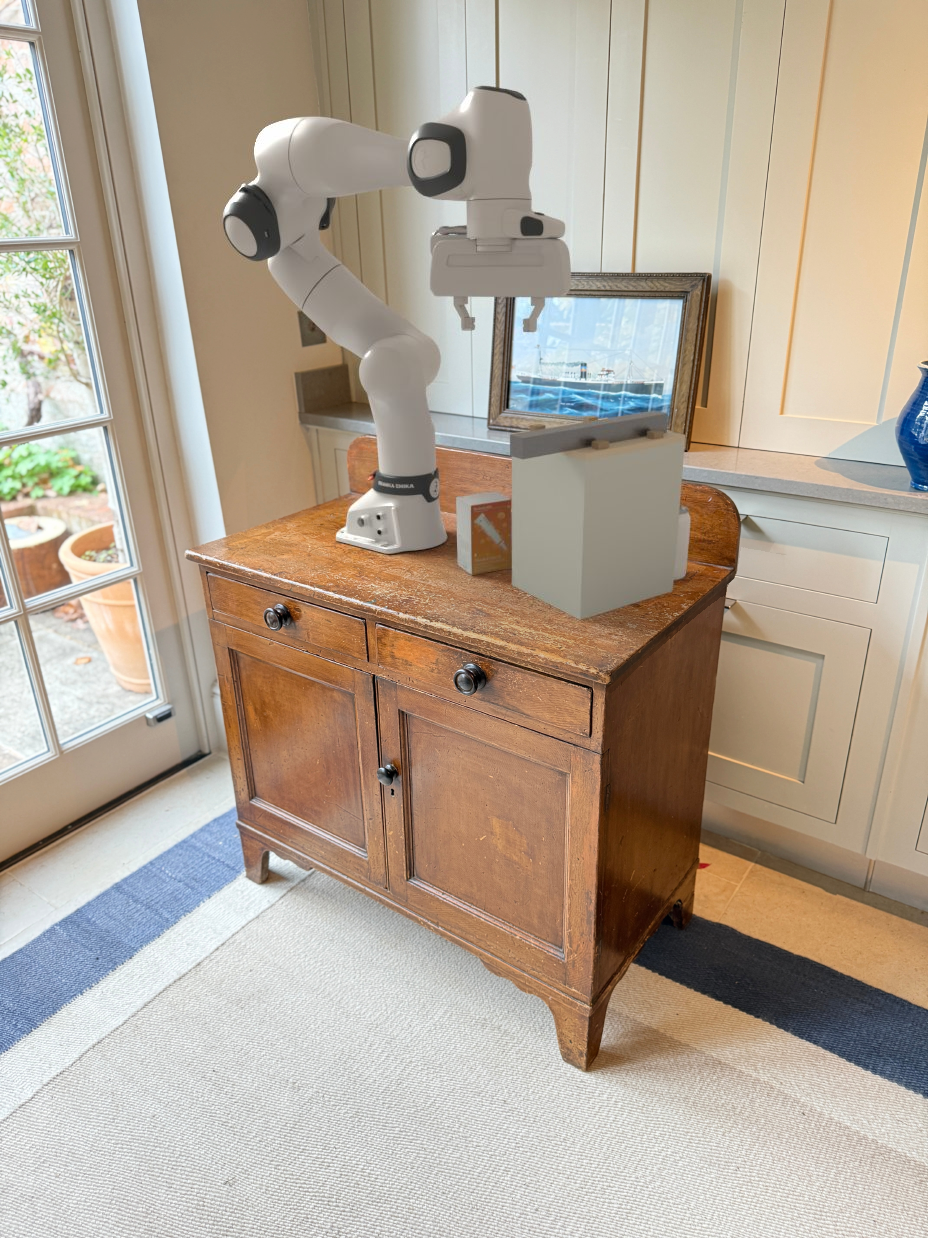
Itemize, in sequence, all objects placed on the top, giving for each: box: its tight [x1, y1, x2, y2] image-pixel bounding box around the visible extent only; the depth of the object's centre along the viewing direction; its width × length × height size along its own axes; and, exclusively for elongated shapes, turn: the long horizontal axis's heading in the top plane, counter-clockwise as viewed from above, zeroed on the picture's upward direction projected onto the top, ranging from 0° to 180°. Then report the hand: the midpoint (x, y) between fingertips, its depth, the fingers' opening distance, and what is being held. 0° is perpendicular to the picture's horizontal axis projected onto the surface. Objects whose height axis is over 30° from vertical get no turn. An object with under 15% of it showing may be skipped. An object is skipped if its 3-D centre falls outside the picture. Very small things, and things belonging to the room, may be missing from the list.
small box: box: [455, 490, 512, 576], centre depth 151 cm, size 8×6×13 cm
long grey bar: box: [509, 410, 669, 459], centre depth 126 cm, size 28×3×3 cm, turn 123°
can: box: [673, 504, 692, 582], centre depth 145 cm, size 6×6×12 cm
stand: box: [511, 414, 686, 621], centre depth 137 cm, size 20×18×27 cm
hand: (498, 330), depth 121 cm, fingers open, 8 cm apart
